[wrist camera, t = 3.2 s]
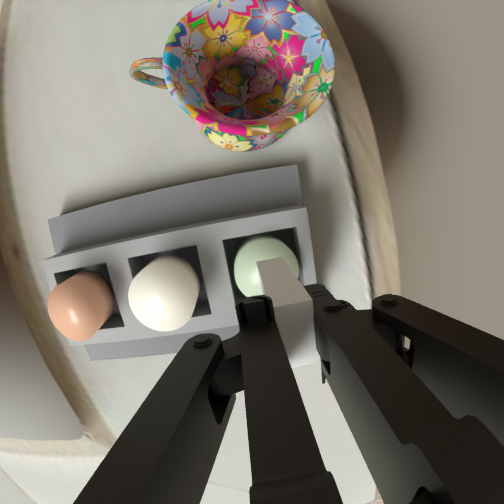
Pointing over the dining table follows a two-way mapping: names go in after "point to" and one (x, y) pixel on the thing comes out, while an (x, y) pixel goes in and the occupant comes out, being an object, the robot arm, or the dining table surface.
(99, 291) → the brown egg
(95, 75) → the dining table surface
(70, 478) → the dining table surface
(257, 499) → the robot arm
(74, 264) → the panel
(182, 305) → the white egg
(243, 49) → the mug
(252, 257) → the pale green rounded piece
